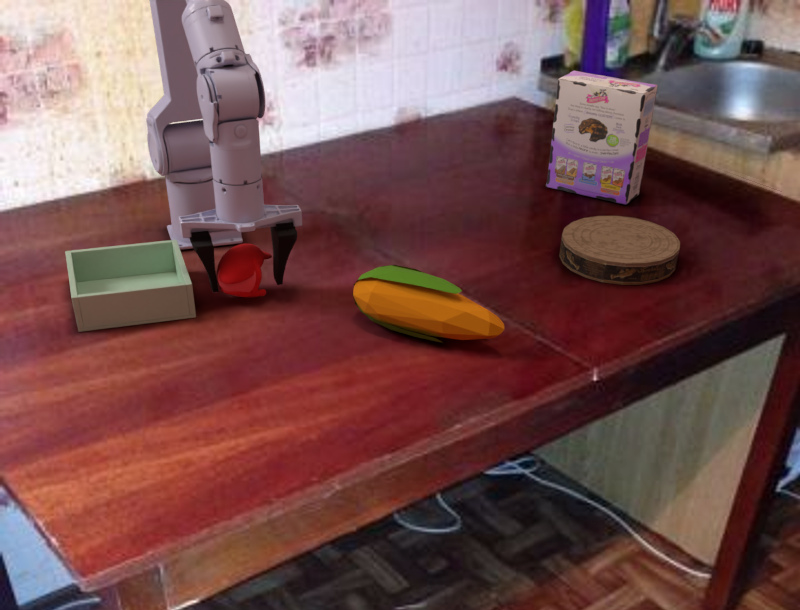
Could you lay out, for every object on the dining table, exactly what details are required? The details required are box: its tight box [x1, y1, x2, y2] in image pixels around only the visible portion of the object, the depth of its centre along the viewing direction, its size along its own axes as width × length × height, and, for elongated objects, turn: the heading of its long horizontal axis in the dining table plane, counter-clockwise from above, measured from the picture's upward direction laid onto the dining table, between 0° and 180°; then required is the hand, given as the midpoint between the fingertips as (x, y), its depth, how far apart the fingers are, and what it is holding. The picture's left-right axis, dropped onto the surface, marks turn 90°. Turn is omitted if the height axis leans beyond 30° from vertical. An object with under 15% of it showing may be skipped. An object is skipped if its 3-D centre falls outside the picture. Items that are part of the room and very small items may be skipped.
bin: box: [64, 239, 197, 333], centre depth 122 cm, size 14×13×4 cm
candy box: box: [545, 70, 658, 206], centre depth 150 cm, size 14×6×16 cm, turn 58°
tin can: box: [558, 215, 681, 286], centre depth 135 cm, size 16×16×3 cm
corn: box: [352, 264, 505, 344], centre depth 116 cm, size 7×8×20 cm
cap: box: [216, 242, 273, 298], centre depth 122 cm, size 8×6×6 cm
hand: (246, 285), depth 123 cm, fingers closed on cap, 7 cm apart
